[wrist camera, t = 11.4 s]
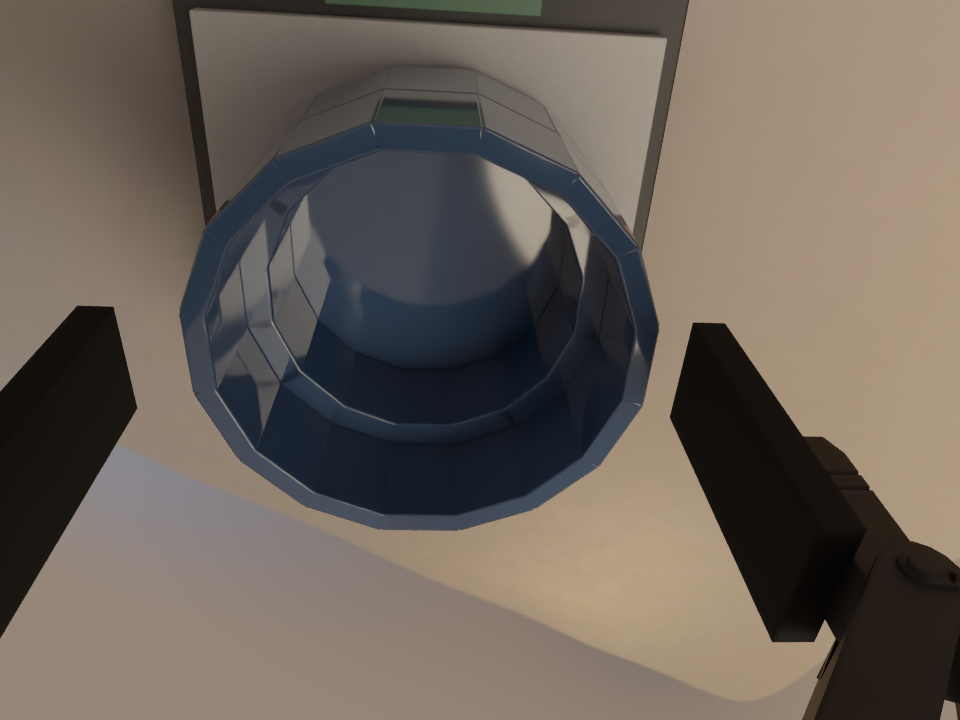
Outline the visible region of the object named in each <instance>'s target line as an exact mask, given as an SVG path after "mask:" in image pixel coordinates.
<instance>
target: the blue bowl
mask: <svg viewBox="0 0 960 720" xmlns="http://www.w3.org/2000/svg"><path fill="white" fill-rule="evenodd" d="M179 316H180V321H181V327H182V332H183V338H184V344H185V349H186V355H187V360H188V366H189V371H190V377H191V383H192V388H193V392H195V393H194V394H195V396H196V398H197V399H198V401H199V402H200V404H201V405H202V407H203V408H204V410H205V411H206V413H207V414H208V415H209V417H210V418H211V420H212V421H213V423H214V424H215V426H216V427H217V429H218V430H219V432H220V433H221V435H222V436H223V437H224V439H225V440H226V442H227V443H228V445H229V446H230V448H231V449H232V451H233V452H234V454H235V455H236V457H237V458H238V459H239V460H240V461H241V462H242V463H244V464H245V465H247V466H248V467H249V468H251V469H252V470H254V471H255V472H257V473H258V474H259V475H261V476H262V477H264V478H265V479H266V480H268V481H269V482H271V483H272V484H274V485H275V486H276V487H278V488H279V489H281V490H282V491H283V492H285V493H286V494H288V495H289V496H291V497H292V498H293V499H295V500H296V501H298V502H299V503H300V504H302V505H305V507H308V508H312V509H315V510H318V511H321V512H324V513H328V514H331V515H334V516H337V517H340V518H344V519H347V520H350V521H353V522H356V523H360V524H363V525H366V526H369V527H372V528H376V529H382V530H442V531H458V530H459V529H460V530H463V529H467V528H471V527H474V526H478V525H481V524H485V523H488V522H492V521H495V520H499V519H502V518H506V517H509V516H513V515H516V514H520V513H523V512H527V511H531V510H533V509H534V508H537V507H539V506H540V505H542V504H543V503H545V502H546V501H548V500H549V499H551V498H552V497H554V496H555V495H557V494H558V493H560V492H561V491H563V490H564V489H566V488H567V487H569V486H570V485H572V484H573V483H575V482H576V481H578V480H579V479H581V478H582V477H584V476H585V475H587V474H588V473H590V472H591V471H593V470H594V469H596V468H597V466H600V464H601V463H602V462H603V460H604V459H605V458H606V456H607V455H608V453H609V452H610V451H611V449H612V448H613V446H614V445H615V444H616V442H617V441H618V439H619V438H620V437H621V435H622V434H623V433H624V431H625V430H626V428H627V427H628V426H629V424H630V423H631V421H632V420H633V419H634V417H635V416H636V415H637V413H638V412H639V410H640V409H641V408H642V406H643V402H644V398H645V394H646V389H647V384H648V380H649V375H650V370H651V366H652V361H653V356H654V352H655V347H656V342H657V338H658V333H659V322H658V318H657V314H656V310H655V306H654V301H653V297H652V293H651V289H650V285H649V281H648V277H647V273H646V269H645V265H644V261H643V257H642V253H641V249H640V247H639V245H638V242H637V241H636V239H635V237H634V236H633V234H632V232H631V230H630V229H629V227H628V225H627V224H626V222H625V220H624V219H623V217H622V215H621V213H620V212H619V210H618V208H617V207H616V205H615V203H614V201H613V200H612V198H611V196H610V194H609V193H608V191H607V189H606V188H605V186H604V184H603V182H602V181H601V179H600V177H599V176H598V174H597V172H596V170H595V169H594V167H593V165H592V164H591V162H590V161H589V159H588V158H587V157H586V156H585V155H584V153H583V152H582V151H581V150H580V148H579V147H578V146H577V145H576V144H575V142H574V141H573V140H572V139H571V137H570V136H569V135H568V134H567V132H566V131H565V130H564V129H563V128H562V126H561V125H560V124H559V123H558V121H557V120H556V119H555V118H554V117H553V115H552V114H551V113H550V112H549V110H548V109H547V108H546V107H545V106H543V105H542V104H540V103H538V102H536V101H534V100H532V99H530V98H528V97H526V96H524V95H522V94H520V93H518V92H517V91H515V90H513V89H511V88H509V87H507V86H505V85H503V84H501V83H499V82H497V81H495V80H493V79H491V78H489V77H487V76H485V75H483V74H481V73H479V72H477V71H474V72H473V70H471V69H453V68H435V67H416V66H398V65H394V66H393V67H392V66H389V67H387V68H384V69H381V70H379V71H376V72H374V73H371V74H368V75H366V76H363V77H361V78H358V79H355V80H353V81H350V82H348V83H345V84H342V85H340V86H337V87H335V88H332V89H329V90H327V91H324V92H322V93H320V94H319V95H317V96H316V97H315V98H314V99H313V100H312V101H311V102H310V103H309V104H308V105H307V106H306V107H305V108H304V109H303V110H302V111H301V112H300V113H299V114H298V115H297V116H296V117H295V118H294V119H293V120H292V122H291V123H290V124H289V125H288V126H287V127H286V128H285V129H284V130H283V131H282V132H281V133H280V134H279V135H278V136H277V137H276V138H275V139H274V140H273V141H272V142H271V143H270V144H269V145H268V146H267V148H266V149H265V150H264V152H263V153H262V154H261V156H260V157H259V158H258V159H257V161H256V162H255V163H254V165H253V166H252V167H251V168H250V170H249V171H248V172H247V174H246V175H245V176H244V177H243V179H242V180H241V181H240V183H239V184H238V185H237V187H236V188H235V189H234V191H233V192H232V193H231V194H230V196H229V197H228V198H227V200H226V201H225V202H224V203H223V205H222V206H221V207H220V209H219V210H218V211H217V212H216V214H215V215H214V216H213V218H212V219H211V220H210V222H209V223H208V224H207V225H206V228H205V229H204V231H203V233H202V237H201V240H200V243H199V247H198V250H197V253H196V256H195V260H194V263H193V266H192V270H191V273H190V276H189V279H188V283H187V286H186V289H185V293H184V296H183V299H182V302H181V306H180V314H179Z"/></svg>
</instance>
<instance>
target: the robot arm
mask: <svg viewBox="0 0 960 720" xmlns="http://www.w3.org/2000/svg"><path fill="white" fill-rule="evenodd" d="M136 410H137V405H136V401H135V396H134V392H133V388H132V384H131V379H130V375H129V371H128V367H127V362H126V358H125V354H124V350H123V346H122V341H121V337H120V333H119V329H118V324H117V320H116V316H115V312H114V307H101V306H77V307H76V308H75V309H74V310H73V311H72V312H71V313H70V315H69V316H68V317H67V318H66V319H65V320H64V321H63V322H62V323H61V325H60V326H59V327H58V328H57V329H56V330H55V331H54V332H53V333H52V335H51V336H50V337H49V338H48V339H47V340H46V341H45V342H44V344H43V345H42V346H41V347H40V348H39V349H38V350H37V351H36V352H35V354H34V355H33V356H32V357H31V358H30V359H29V360H28V361H27V362H26V364H25V365H24V366H23V367H22V368H21V369H20V370H19V371H18V372H17V374H16V375H15V376H14V377H13V378H12V379H11V380H10V381H9V382H8V384H7V385H6V386H5V387H4V388H3V389H2V390H1V391H0V638H1V636H2V635H3V633H4V631H5V629H6V628H7V626H8V624H9V622H10V621H11V619H12V618H13V616H14V614H15V613H16V611H17V609H18V608H19V606H20V604H21V603H22V601H23V599H24V598H25V596H26V594H27V593H28V591H29V589H30V588H31V586H32V584H33V582H34V581H35V579H36V577H37V576H38V574H39V572H40V571H41V569H42V567H43V566H44V564H45V562H46V561H47V559H48V557H49V555H50V554H51V552H52V550H53V549H54V547H55V545H56V544H57V542H58V541H59V539H60V537H61V535H62V534H63V532H64V530H65V529H66V527H67V525H68V524H69V522H70V520H71V519H72V517H73V515H74V514H75V512H76V510H77V509H78V507H79V505H80V503H81V502H82V500H83V499H84V497H85V495H86V493H87V492H88V490H89V488H90V487H91V485H92V483H93V481H94V480H95V478H96V477H97V475H98V473H99V472H100V470H101V468H102V466H103V465H104V463H105V462H106V460H107V458H108V457H109V455H110V453H111V451H112V450H113V448H114V446H115V445H116V443H117V441H118V440H119V438H120V436H121V435H122V433H123V431H124V430H125V428H126V426H127V425H128V423H129V421H130V420H131V418H132V416H133V415H134V413H135V411H136ZM670 419H671V421H672V423H673V425H674V428H675V430H676V432H677V434H678V436H679V439H680V441H681V443H682V445H683V447H684V450H685V452H686V454H687V456H688V458H689V460H690V463H691V465H692V467H693V469H694V471H695V474H696V476H697V478H698V480H699V482H700V485H701V487H702V489H703V491H704V493H705V496H706V498H707V500H708V502H709V504H710V507H711V509H712V511H713V513H714V515H715V517H716V520H717V522H718V524H719V526H720V528H721V531H722V533H723V535H724V537H725V539H726V542H727V544H728V546H729V548H730V550H731V553H732V555H733V557H734V559H735V561H736V563H737V566H738V568H739V570H740V572H741V574H742V577H743V579H744V581H745V583H746V585H747V588H748V590H749V592H750V594H751V596H752V599H753V601H754V603H755V605H756V607H757V610H758V612H759V614H760V616H761V618H762V620H763V623H764V625H765V627H766V629H767V631H768V634H769V636H770V638H771V640H772V642H814V641H815V639H816V637H817V635H818V633H819V630H820V628H821V626H822V624H823V622H824V620H826V622H827V624H828V625H829V627H830V629H831V631H832V633H833V635H834V636H835V638H836V639H835V641H834V643H833V645H832V647H831V649H830V651H829V653H828V655H827V658H826V660H825V662H824V664H823V666H822V668H821V670H820V672H819V674H818V676H817V678H818V682H817V684H816V687H815V689H814V692H813V694H812V696H811V699H810V701H809V704H808V706H807V709H806V711H805V714H804V716H803V719H802V720H940V716H941V712H942V708H943V703H944V700H948V701H951V702H955V704H956V711H957V718H958V720H960V568H959V567H958V566H957V565H956V564H954V563H953V562H952V561H951V560H950V559H949V558H948V557H946V556H945V555H943V554H941V553H940V552H938V551H936V550H934V549H932V548H931V547H928V546H925V545H922V544H919V543H916V542H913V541H910V540H909V539H908V538H907V536H906V535H905V534H904V532H903V531H902V530H901V528H900V527H899V526H898V524H897V523H896V522H895V520H894V519H893V518H892V516H891V515H890V514H889V512H888V511H887V510H886V508H885V507H884V506H883V504H882V503H881V502H880V500H879V499H878V497H877V496H876V495H875V493H874V492H873V491H870V490H869V485H868V484H867V483H866V481H865V480H864V479H863V477H862V476H861V475H858V471H857V469H856V468H855V467H854V465H853V464H852V463H851V461H850V460H849V459H848V457H847V456H846V455H845V453H843V452H842V451H841V450H839V449H838V448H837V447H835V446H834V445H833V444H831V443H830V442H829V441H827V440H826V439H825V438H823V437H803V436H802V434H801V433H800V432H799V430H798V429H797V427H796V426H795V424H794V423H793V421H792V420H791V419H790V417H789V416H788V414H787V413H786V411H785V410H784V408H783V407H782V406H781V404H780V403H779V401H778V400H777V398H776V397H775V395H774V394H773V392H772V391H771V390H770V388H769V387H768V385H767V384H766V382H765V381H764V379H763V378H762V377H761V375H760V374H759V372H758V371H757V369H756V368H755V366H754V365H753V364H752V362H751V361H750V359H749V358H748V356H747V355H746V353H745V352H744V351H743V349H742V348H741V346H740V345H739V343H738V342H737V340H736V339H735V337H734V336H733V335H732V333H731V332H730V330H729V329H728V327H727V326H726V324H724V323H693V325H692V329H691V333H690V337H689V341H688V345H687V350H686V354H685V358H684V362H683V366H682V370H681V374H680V378H679V382H678V386H677V390H676V394H675V398H674V403H673V407H672V411H671V415H670Z"/></svg>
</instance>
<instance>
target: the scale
mask: <svg viewBox="0 0 960 720" xmlns="http://www.w3.org/2000/svg"><path fill="white" fill-rule="evenodd" d="M172 1H173V7H174V14H175V21H176V28H177V35H178V41H179V48H180V55H181V62H182V69H183V75H184V82H185V89H186V96H187V103H188V109H189V116H190V123H191V130H192V137H193V143H194V150H195V157H196V164H197V171H198V177H199V184H200V191H201V198H202V205H203V212H204V218H205V225H207V224H208V223H209V222H210V220H211V219H212V218H213V216H214V215H215V214H216V212H217V211H218V210H219V209H220V207H221V206H222V205H223V203H224V202H225V201H226V200H227V198H228V197H229V196H230V194H231V193H232V192H233V191H234V189H235V188H236V187H237V185H238V184H239V183H240V181H241V180H242V179H243V177H244V176H245V175H246V174H247V172H248V171H249V170H250V168H251V167H252V166H253V165H254V163H255V162H256V161H257V159H258V158H259V157H260V156H261V154H262V153H263V152H264V150H265V149H266V148H267V146H268V145H269V144H270V143H271V142H272V141H273V140H274V139H275V138H276V137H277V136H278V135H279V134H280V133H281V132H282V131H283V130H284V129H285V128H286V127H287V126H288V125H289V124H290V123H291V122H292V120H293V119H294V118H295V117H296V116H297V115H298V114H299V113H300V112H301V111H302V110H303V109H304V108H305V107H306V106H307V105H308V104H309V103H310V102H311V101H312V100H313V99H314V98H315V97H316V96H317V95H319V94H320V93H322V92H324V91H327V90H329V89H332V88H335V87H337V86H340V85H342V84H345V83H348V82H350V81H353V80H355V79H358V78H361V77H363V76H366V75H368V74H371V73H374V72H376V71H379V70H381V69H384V68H387V67H389V66H392V67H393V66H394V65H398V66H416V67H435V68H453V69H471V70H473V72H474V71H477V72H479V73H481V74H483V75H485V76H487V77H489V78H491V79H493V80H495V81H497V82H499V83H501V84H503V85H505V86H507V87H509V88H511V89H513V90H515V91H517V92H518V93H520V94H522V95H524V96H526V97H528V98H530V99H532V100H534V101H536V102H538V103H540V104H542V105H543V106H545V107H546V108H547V109H548V110H549V112H550V113H551V114H552V115H553V117H554V118H555V119H556V120H557V121H558V123H559V124H560V125H561V126H562V128H563V129H564V130H565V131H566V132H567V134H568V135H569V136H570V137H571V139H572V140H573V141H574V142H575V144H576V145H577V146H578V147H579V148H580V150H581V151H582V152H583V153H584V155H585V156H586V157H587V158H588V159H589V161H590V162H591V164H592V165H593V167H594V169H595V170H596V172H597V174H598V176H599V177H600V179H601V181H602V182H603V184H604V186H605V188H606V189H607V191H608V193H609V194H610V196H611V198H612V200H613V201H614V203H615V205H616V207H617V208H618V210H619V212H620V213H621V215H622V217H623V219H624V220H625V222H626V224H627V225H628V227H629V229H630V230H631V232H632V234H633V236H634V237H635V239H636V241H637V242H638V245H639V247H640V249H641V253H642V248H643V243H644V238H645V232H646V227H647V222H648V216H649V211H650V206H651V200H652V195H653V190H654V184H655V179H656V174H657V168H658V163H659V158H660V153H661V147H662V142H663V137H664V131H665V126H666V121H667V115H668V110H669V105H670V99H671V94H672V89H673V83H674V78H675V73H676V68H677V62H678V57H679V52H680V46H681V41H682V36H683V30H684V25H685V20H686V14H687V9H688V4H689V0H172Z"/></svg>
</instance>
